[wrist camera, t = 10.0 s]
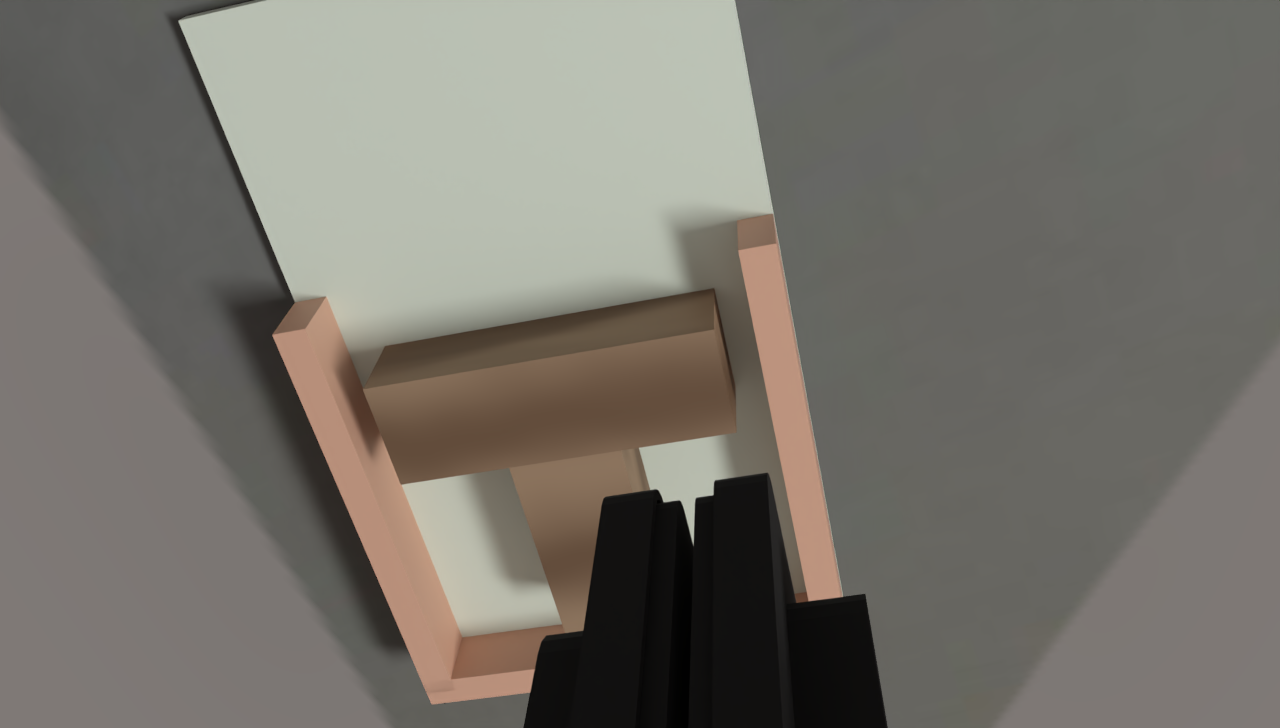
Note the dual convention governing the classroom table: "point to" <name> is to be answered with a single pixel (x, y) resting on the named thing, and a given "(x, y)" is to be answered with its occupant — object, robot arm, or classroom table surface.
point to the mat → (503, 208)
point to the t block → (558, 413)
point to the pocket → (395, 536)
